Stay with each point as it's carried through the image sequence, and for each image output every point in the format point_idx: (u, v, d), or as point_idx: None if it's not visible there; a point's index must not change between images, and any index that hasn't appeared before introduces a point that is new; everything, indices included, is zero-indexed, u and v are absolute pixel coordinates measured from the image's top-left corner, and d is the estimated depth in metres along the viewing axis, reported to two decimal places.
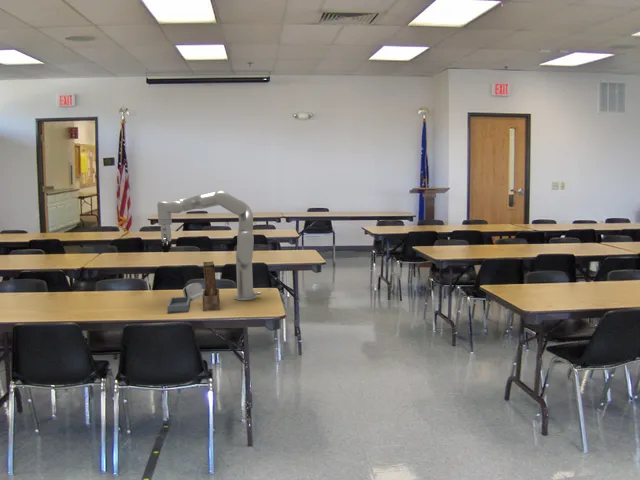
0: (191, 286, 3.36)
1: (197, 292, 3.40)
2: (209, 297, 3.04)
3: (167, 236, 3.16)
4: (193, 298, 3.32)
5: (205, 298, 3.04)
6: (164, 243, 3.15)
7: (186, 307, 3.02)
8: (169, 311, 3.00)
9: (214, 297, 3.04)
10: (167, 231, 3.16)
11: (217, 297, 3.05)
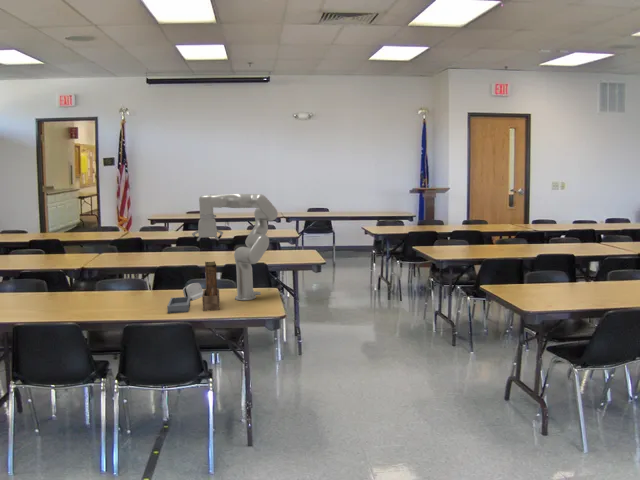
0: (191, 286, 3.36)
1: (197, 292, 3.40)
2: (209, 297, 3.04)
3: None
4: (193, 298, 3.32)
5: (205, 298, 3.04)
6: (219, 237, 3.12)
7: (186, 307, 3.02)
8: (169, 311, 3.00)
9: (214, 297, 3.04)
10: None
11: (217, 297, 3.05)
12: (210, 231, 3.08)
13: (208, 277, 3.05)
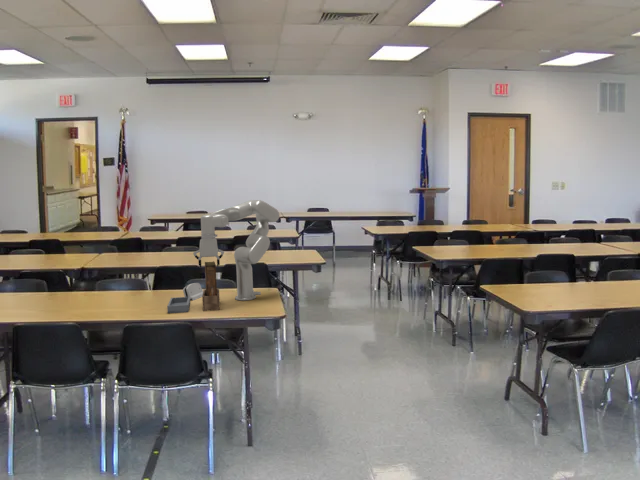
0: (191, 286, 3.36)
1: (197, 292, 3.40)
2: (209, 297, 3.04)
3: None
4: (193, 298, 3.32)
5: (205, 298, 3.04)
6: (220, 256, 3.13)
7: (186, 307, 3.02)
8: (169, 311, 3.00)
9: (214, 297, 3.04)
10: None
11: (217, 297, 3.05)
12: (211, 250, 3.09)
13: (208, 277, 3.05)
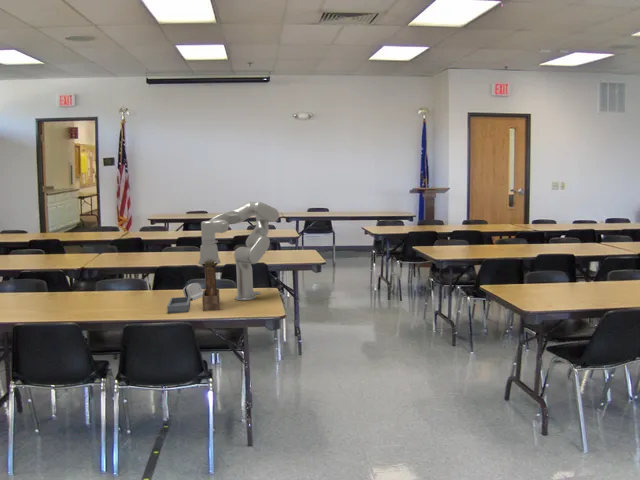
0: (191, 286, 3.36)
1: (197, 292, 3.40)
2: (209, 297, 3.04)
3: None
4: (193, 298, 3.32)
5: (205, 298, 3.04)
6: (215, 265, 3.13)
7: (186, 307, 3.02)
8: (169, 311, 3.00)
9: (214, 297, 3.04)
10: (217, 250, 3.14)
11: (217, 297, 3.05)
12: (212, 256, 3.10)
13: (207, 277, 3.05)
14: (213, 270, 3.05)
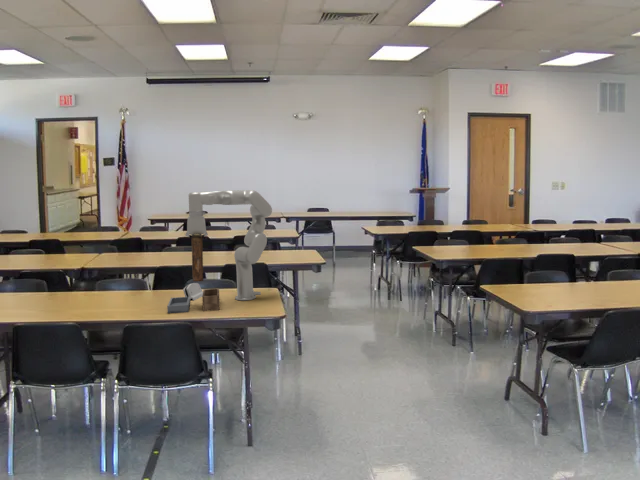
0: (191, 286, 3.36)
1: (197, 292, 3.40)
2: (209, 297, 3.04)
3: None
4: (194, 298, 3.32)
5: (205, 298, 3.04)
6: (202, 237, 3.10)
7: (186, 307, 3.02)
8: (169, 311, 3.00)
9: (214, 297, 3.04)
10: None
11: (217, 297, 3.05)
12: (199, 228, 3.07)
13: (194, 248, 3.02)
14: (200, 241, 3.02)
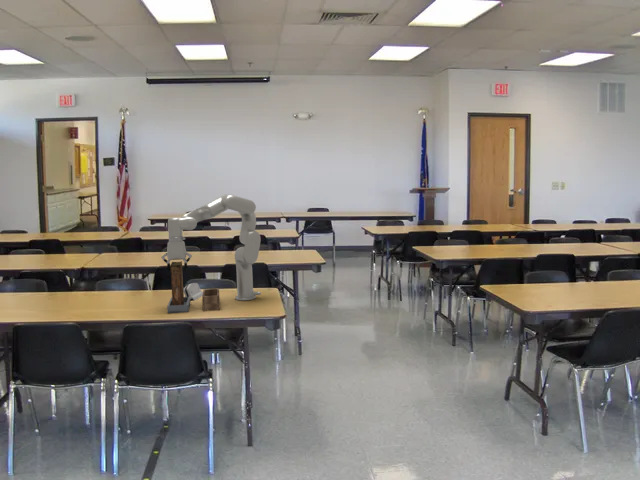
0: (191, 286, 3.36)
1: (196, 292, 3.40)
2: (209, 297, 3.04)
3: None
4: (194, 298, 3.32)
5: (205, 298, 3.04)
6: None
7: (186, 307, 3.02)
8: (169, 311, 3.00)
9: (214, 297, 3.04)
10: None
11: (217, 297, 3.05)
12: (179, 253, 3.06)
13: (172, 277, 3.02)
14: (178, 270, 3.02)
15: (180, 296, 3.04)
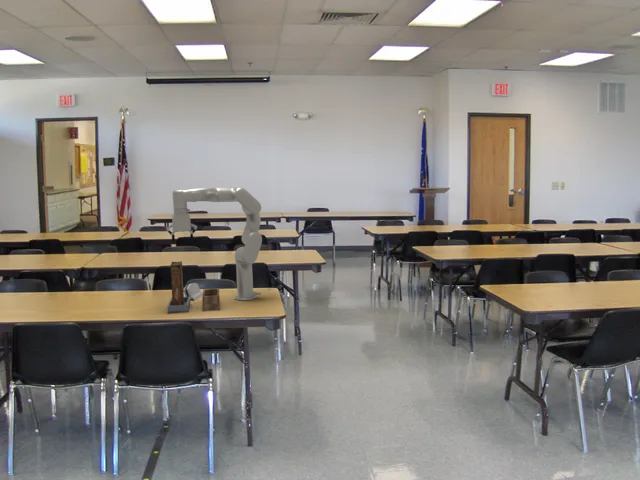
0: (191, 286, 3.36)
1: (196, 292, 3.40)
2: (209, 297, 3.04)
3: None
4: (194, 298, 3.32)
5: (205, 298, 3.04)
6: (194, 231, 3.12)
7: (186, 307, 3.02)
8: (169, 311, 3.00)
9: (214, 297, 3.04)
10: None
11: (217, 297, 3.05)
12: (184, 225, 3.09)
13: (172, 277, 3.02)
14: (178, 270, 3.02)
15: (180, 296, 3.04)
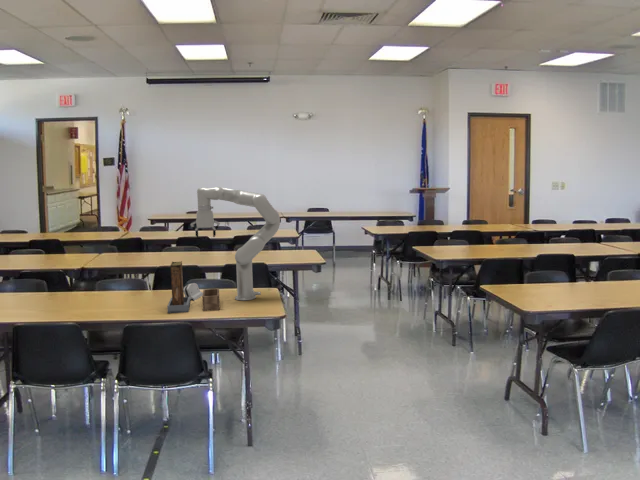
0: (191, 286, 3.36)
1: (196, 292, 3.40)
2: (209, 297, 3.04)
3: None
4: (194, 298, 3.32)
5: (205, 298, 3.04)
6: (216, 227, 3.27)
7: (186, 307, 3.02)
8: (169, 311, 3.00)
9: (214, 297, 3.04)
10: None
11: (217, 297, 3.05)
12: (207, 222, 3.24)
13: (172, 277, 3.02)
14: (178, 270, 3.02)
15: (180, 296, 3.04)
